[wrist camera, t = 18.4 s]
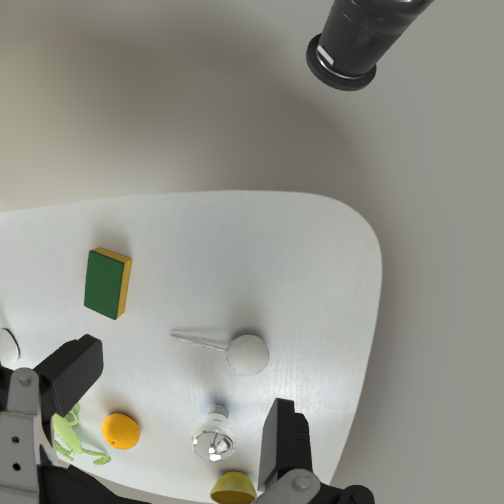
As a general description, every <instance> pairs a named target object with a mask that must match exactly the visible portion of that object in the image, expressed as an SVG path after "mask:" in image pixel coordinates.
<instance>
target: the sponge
mask: <svg viewBox="0 0 504 504" xmlns="http://www.w3.org/2000/svg"><path fill="white" fill-rule="evenodd" d="M131 264H132V259H130V258H127V257H124V256H122V255H119V254H116V253H114V252H111V251H108V250H106V249H103V248H97V249H94V250H91V251H89V258H88V266H87V275H86V285H85V298H84V306H85V307H87V308H89V309H92V310H94V311H96V312H98V313H100V314H102V315H104V316H107V317H109V318H111V319H113V320H116V319H117V318H118V317H119V316H121V315H122V314H123V313H124V309H125V301H126V294H127V288H128V281H129V275H130V270H131Z"/></svg>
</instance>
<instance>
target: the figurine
mask: <svg viewBox="0 0 504 504" xmlns="http://www.w3.org/2000/svg"><path fill="white" fill-rule="evenodd" d="M74 406H75V407H76V410H77V413H76V415H77V414H78V412H79V406H78V404H77V403H76V404H75V405H74ZM69 413H71V414H72V415H73V416H74V420H73V421H68V419H67V418H66V417H64V418H62V417H61V416H59V415H58V414H56V413H55V414H54V415H53V416H52V418H53V426H54V429H55V431H56V432H57V434H58V435H59V437H60V438H61V439H62V440H63V442H64V443H65V444H66V445H67V446H68V447H69V448H70V449H71V451H68V450H66V449H64V448H63V447H62V446H61V445H60V444H59V443H58V442H57V441H56V440H55V444H56V445H57V446H58V447H57V446H56V445H55V448H56V450H57V451H58V452H60V453H61V454H62V455H64V456H65V457H67V458H68V459H70V460H71V461H72V460H74V459H73V458H72V457H70V456H69V455H74V454H75V452H76V453H78V454H81V453H82V452H83V453H85V454H90V455H94V456H99V457H102V458H100V459H98V460H95V461H94V462H93V463H94V464H95V465H102V464H105V463H108V462H109V461H111V458H110V457H108V458H107V456H106V455H105V454H104V453H98V452H94V451H90V450H85V449H82V446H81V443H80V441H79V439H78V437H77V435H76V433H75V431H74V429H73V427H72V426H71V425H76V424H77V423H78V418H77V416H76V415H75V414H74V413H72V412H71V411H69ZM67 454H69V455H67Z"/></svg>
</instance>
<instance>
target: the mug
mask: <svg viewBox="0 0 504 504" xmlns="http://www.w3.org/2000/svg"><path fill="white" fill-rule="evenodd" d="M19 355H20V350H19V347H18V344H17V342H16V340H15V338H14V336H13V335H12V334H11V333H10V332H9V331H8V330H7V329H2V330H0V362H1V365H2V366H4V367H7V366H9V365H10V364H11V363H12V362H14V361H15V360H16V359H17V358H19Z"/></svg>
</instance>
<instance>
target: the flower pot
mask: <svg viewBox="0 0 504 504" xmlns="http://www.w3.org/2000/svg"><path fill="white" fill-rule="evenodd" d="M210 498H211V499H212V500H213V501H215V502H216V503H219V504H249V503H251V502H252V501H254V500H255V499H256V498H257V495H256V491H255V489H254V486H253V484H252V482H251V481H250V479H249V478H248V477H247V476H246V475H245V474H244V473H241V472H236V471H232V472H227V473H226V474H224V475H223V476H222V477H221V478H220V479H219V480H218V481H217V483H216V484H215V485H214V487H213V489H212V491H211V493H210Z"/></svg>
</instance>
